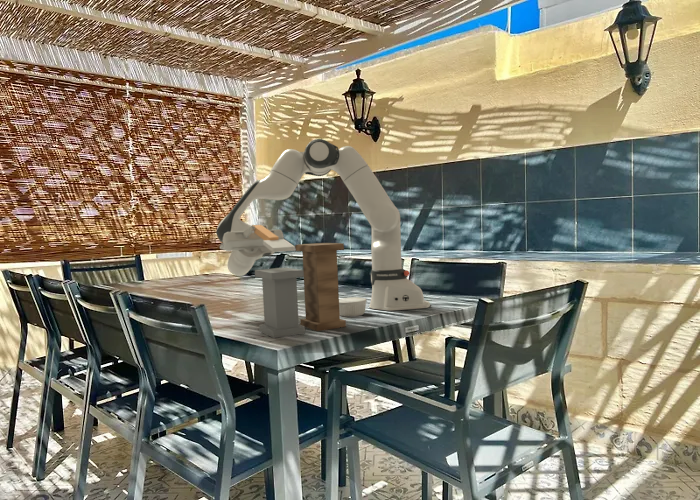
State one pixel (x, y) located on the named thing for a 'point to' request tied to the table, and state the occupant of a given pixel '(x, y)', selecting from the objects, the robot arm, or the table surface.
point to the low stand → (280, 302)
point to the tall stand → (321, 286)
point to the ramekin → (352, 306)
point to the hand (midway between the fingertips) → (259, 227)
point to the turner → (273, 240)
